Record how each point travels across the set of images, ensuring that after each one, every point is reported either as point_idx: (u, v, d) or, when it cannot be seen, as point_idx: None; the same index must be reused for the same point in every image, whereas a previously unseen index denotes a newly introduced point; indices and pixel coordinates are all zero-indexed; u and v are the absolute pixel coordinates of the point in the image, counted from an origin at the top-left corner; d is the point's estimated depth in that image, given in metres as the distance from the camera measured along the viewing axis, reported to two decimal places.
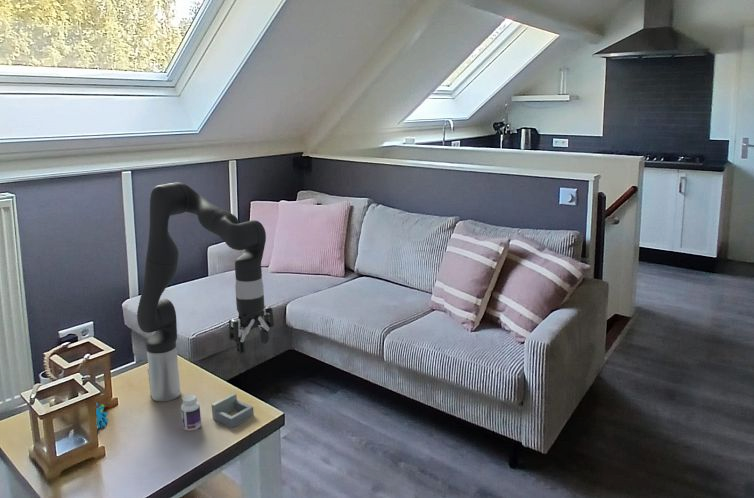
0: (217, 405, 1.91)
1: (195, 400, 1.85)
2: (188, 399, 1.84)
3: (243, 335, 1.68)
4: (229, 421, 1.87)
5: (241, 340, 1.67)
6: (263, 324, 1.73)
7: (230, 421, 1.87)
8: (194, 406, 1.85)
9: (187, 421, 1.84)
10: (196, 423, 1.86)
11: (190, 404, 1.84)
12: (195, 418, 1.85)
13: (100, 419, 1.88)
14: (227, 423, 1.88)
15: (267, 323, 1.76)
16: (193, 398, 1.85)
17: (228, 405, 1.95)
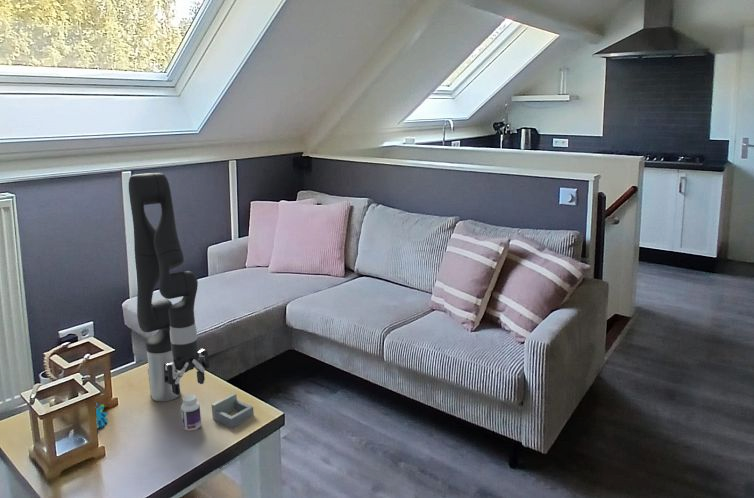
0: (217, 405, 1.91)
1: (195, 400, 1.85)
2: (188, 399, 1.84)
3: (177, 378, 1.79)
4: (229, 421, 1.87)
5: (176, 382, 1.79)
6: (198, 366, 1.84)
7: (230, 421, 1.87)
8: (194, 406, 1.85)
9: (187, 421, 1.84)
10: (196, 423, 1.86)
11: (190, 404, 1.84)
12: (195, 418, 1.85)
13: (99, 419, 1.88)
14: (227, 423, 1.88)
15: (203, 364, 1.88)
16: (193, 398, 1.85)
17: (228, 405, 1.95)
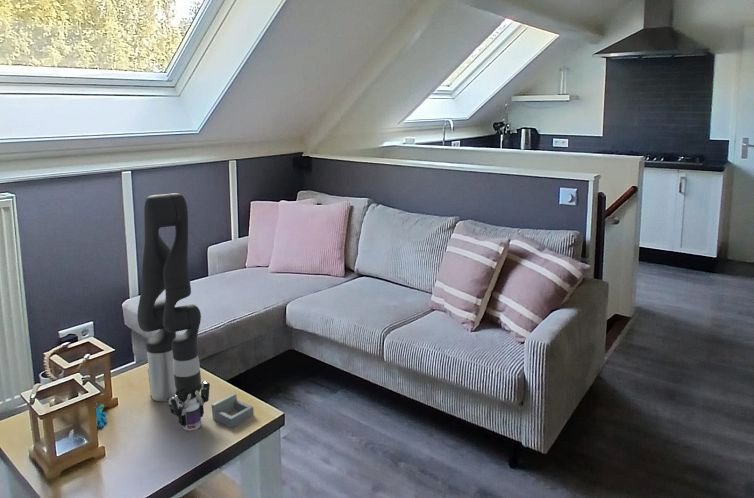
0: (217, 405, 1.91)
1: (195, 400, 1.85)
2: None
3: (183, 409, 1.83)
4: (229, 421, 1.87)
5: (182, 414, 1.83)
6: (199, 398, 1.86)
7: (230, 421, 1.87)
8: (194, 406, 1.85)
9: (187, 421, 1.84)
10: (196, 423, 1.86)
11: (190, 404, 1.84)
12: (195, 418, 1.85)
13: (99, 419, 1.88)
14: (227, 423, 1.88)
15: (202, 398, 1.89)
16: (193, 398, 1.85)
17: (228, 405, 1.95)
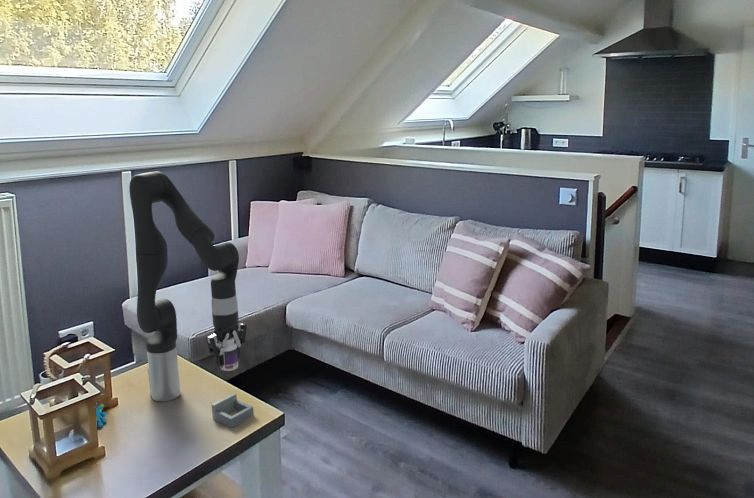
0: (217, 405, 1.91)
1: (233, 340, 1.86)
2: None
3: (221, 349, 1.83)
4: (229, 421, 1.87)
5: (220, 353, 1.83)
6: (236, 339, 1.87)
7: (230, 421, 1.87)
8: (232, 346, 1.85)
9: (225, 361, 1.85)
10: (234, 364, 1.86)
11: (228, 344, 1.84)
12: (232, 358, 1.85)
13: (98, 419, 1.88)
14: (227, 423, 1.88)
15: (239, 340, 1.90)
16: (231, 338, 1.85)
17: (228, 405, 1.95)
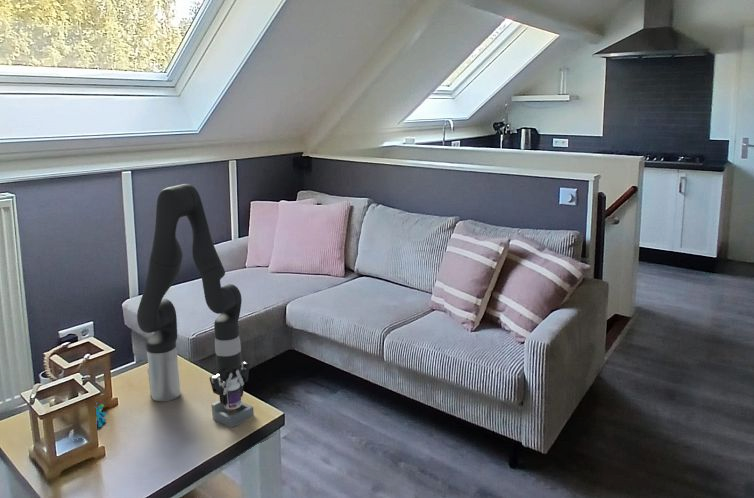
0: (217, 405, 1.91)
1: (236, 380, 1.89)
2: None
3: (225, 388, 1.87)
4: (229, 421, 1.87)
5: (224, 393, 1.87)
6: (239, 378, 1.90)
7: (230, 421, 1.87)
8: (236, 385, 1.89)
9: (229, 400, 1.88)
10: (237, 403, 1.90)
11: (231, 383, 1.88)
12: (236, 397, 1.89)
13: (97, 419, 1.88)
14: (227, 423, 1.88)
15: (242, 378, 1.93)
16: (234, 378, 1.89)
17: None
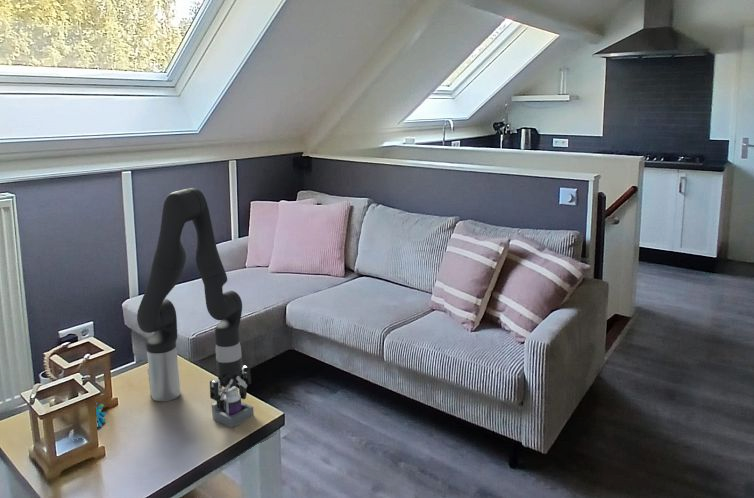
0: None
1: (237, 391, 1.90)
2: (230, 390, 1.89)
3: (223, 394, 1.86)
4: (229, 421, 1.87)
5: (221, 398, 1.86)
6: (241, 382, 1.91)
7: (230, 421, 1.87)
8: (236, 397, 1.90)
9: (229, 411, 1.89)
10: None
11: (232, 395, 1.89)
12: (236, 409, 1.90)
13: (97, 419, 1.88)
14: (227, 423, 1.88)
15: (245, 380, 1.95)
16: (235, 389, 1.90)
17: None
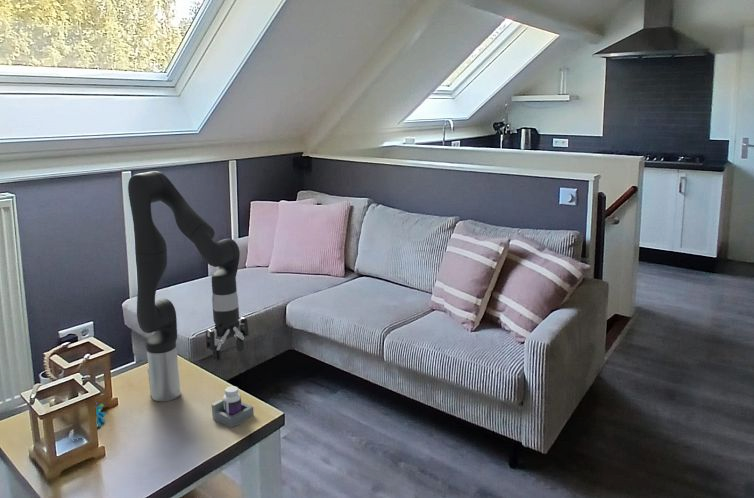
0: (217, 405, 1.91)
1: (237, 391, 1.90)
2: (230, 390, 1.89)
3: (219, 344, 1.83)
4: (229, 421, 1.87)
5: (217, 348, 1.82)
6: (238, 334, 1.87)
7: (230, 421, 1.87)
8: (236, 397, 1.90)
9: (229, 412, 1.89)
10: None
11: (232, 395, 1.89)
12: (236, 409, 1.90)
13: None
14: (227, 423, 1.88)
15: (242, 332, 1.91)
16: (235, 389, 1.90)
17: None
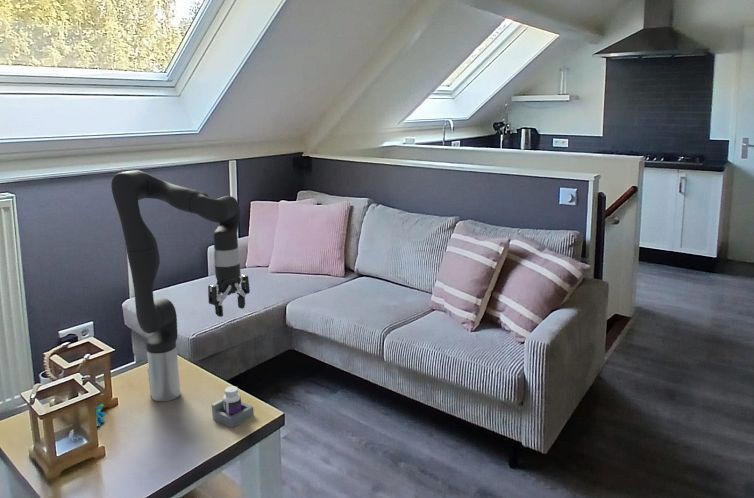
0: (217, 405, 1.91)
1: (237, 391, 1.90)
2: (230, 390, 1.89)
3: (221, 299, 1.87)
4: (229, 421, 1.87)
5: (219, 304, 1.86)
6: (240, 290, 1.91)
7: (230, 421, 1.87)
8: (236, 397, 1.90)
9: (229, 412, 1.89)
10: None
11: (232, 395, 1.89)
12: (236, 409, 1.90)
13: None
14: (227, 423, 1.88)
15: (244, 290, 1.95)
16: (235, 389, 1.90)
17: None
